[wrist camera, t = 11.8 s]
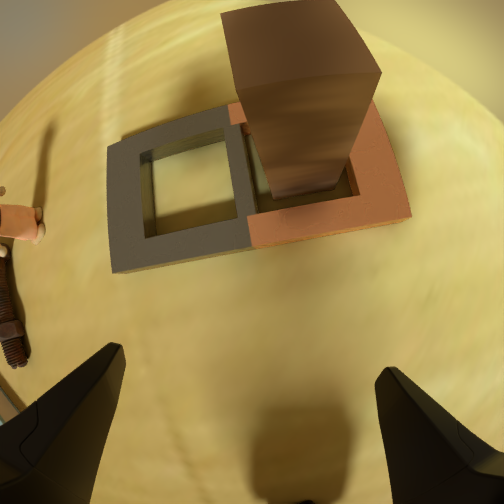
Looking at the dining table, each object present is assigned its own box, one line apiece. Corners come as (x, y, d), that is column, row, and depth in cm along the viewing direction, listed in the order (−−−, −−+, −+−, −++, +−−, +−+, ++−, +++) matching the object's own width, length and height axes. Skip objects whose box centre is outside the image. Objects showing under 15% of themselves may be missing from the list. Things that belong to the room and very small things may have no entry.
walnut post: (319, 135, 20) (333, -2, 7) (334, 189, 19) (382, 72, 6) (262, 145, 20) (220, 13, 7) (273, 200, 20) (235, 90, 7)
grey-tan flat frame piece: (361, 97, 19) (365, 83, 17) (401, 222, 18) (412, 217, 16) (119, 154, 22) (107, 146, 20) (126, 273, 21) (112, 273, 19)
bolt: (37, 361, 25) (10, 252, 26) (39, 362, 22) (10, 239, 23) (2, 371, 20) (-23, 259, 22) (-1, 374, 17) (-28, 246, 19)
